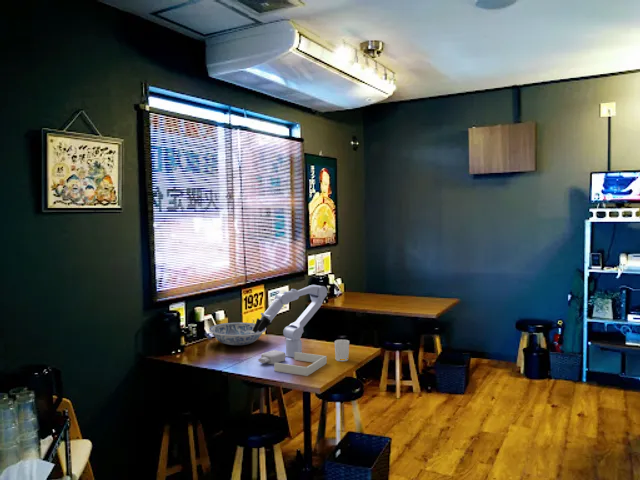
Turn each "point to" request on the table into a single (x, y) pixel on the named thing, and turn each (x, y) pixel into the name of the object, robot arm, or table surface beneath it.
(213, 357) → the table surface
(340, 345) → the white cup
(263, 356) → the charger
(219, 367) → the table surface
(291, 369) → the box
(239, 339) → the ceramic bowl
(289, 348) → the robot arm
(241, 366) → the table surface
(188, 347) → the table surface
